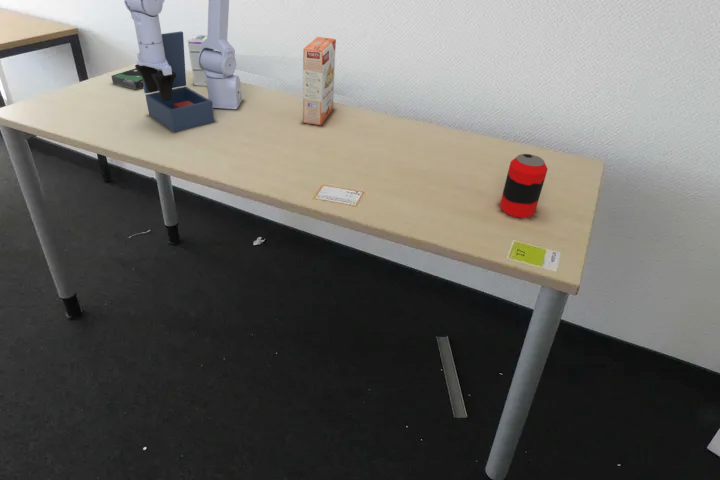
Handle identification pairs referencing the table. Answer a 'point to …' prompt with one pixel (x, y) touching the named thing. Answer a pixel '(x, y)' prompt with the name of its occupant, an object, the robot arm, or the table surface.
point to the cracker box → (318, 80)
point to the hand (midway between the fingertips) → (159, 96)
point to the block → (182, 104)
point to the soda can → (523, 185)
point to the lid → (174, 57)
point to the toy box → (180, 109)
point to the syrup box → (196, 59)
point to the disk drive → (129, 79)
